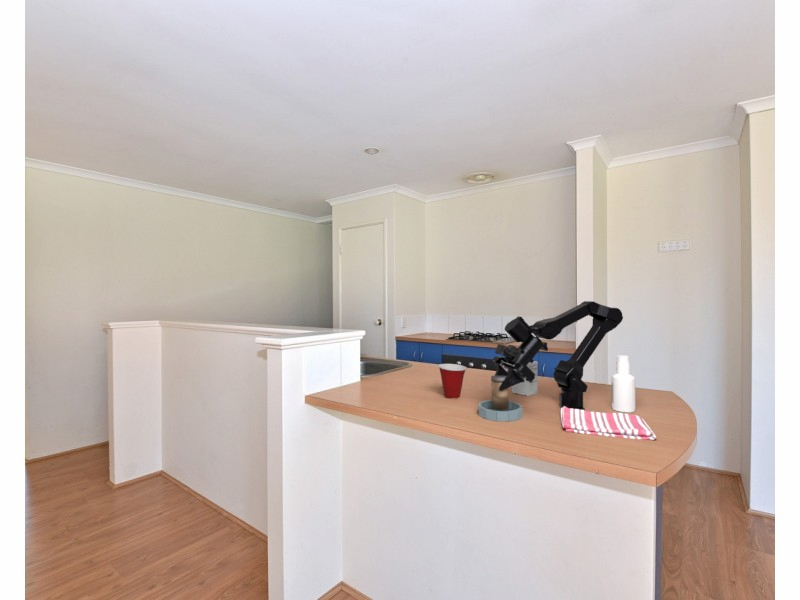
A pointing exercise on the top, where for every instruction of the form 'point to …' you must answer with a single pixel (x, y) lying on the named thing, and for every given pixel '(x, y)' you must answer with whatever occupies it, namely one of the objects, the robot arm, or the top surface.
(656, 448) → the top surface
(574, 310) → the robot arm
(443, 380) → the plastic cup
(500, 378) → the walnut jar
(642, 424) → the dish towel
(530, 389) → the supplement box
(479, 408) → the bowl
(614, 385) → the spray bottle
